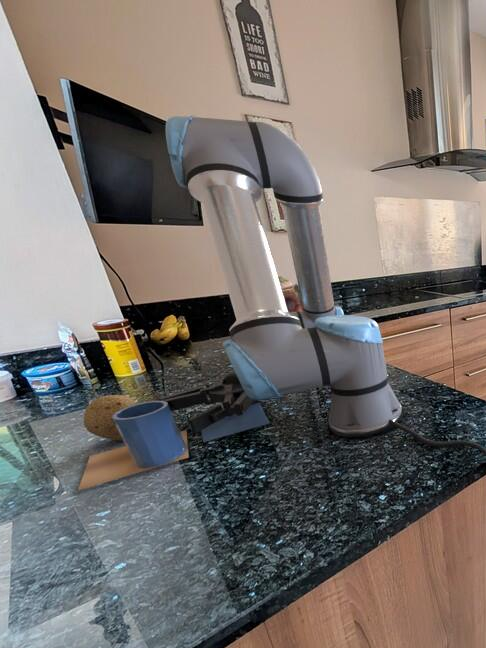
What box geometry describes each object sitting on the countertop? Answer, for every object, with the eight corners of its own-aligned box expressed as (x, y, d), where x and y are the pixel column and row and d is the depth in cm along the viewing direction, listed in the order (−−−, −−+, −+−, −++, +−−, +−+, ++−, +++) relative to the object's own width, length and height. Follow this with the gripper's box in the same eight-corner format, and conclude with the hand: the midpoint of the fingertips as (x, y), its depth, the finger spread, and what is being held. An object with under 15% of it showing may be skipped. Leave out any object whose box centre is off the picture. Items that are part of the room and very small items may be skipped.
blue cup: (187, 457, 74) (167, 410, 71) (134, 472, 70) (110, 423, 66) (186, 441, 80) (167, 397, 76) (136, 455, 76) (114, 409, 72)
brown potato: (81, 452, 78) (57, 407, 74) (119, 430, 86) (98, 388, 82) (129, 449, 79) (107, 404, 75) (162, 427, 87) (144, 386, 83)
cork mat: (189, 458, 75) (188, 457, 74) (78, 492, 66) (77, 490, 66) (187, 431, 85) (186, 429, 85) (90, 457, 76) (89, 455, 76)
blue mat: (270, 424, 86) (269, 423, 86) (203, 443, 80) (203, 442, 79) (259, 404, 97) (259, 402, 96) (200, 419, 90) (199, 418, 90)
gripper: (299, 398, 93) (224, 445, 74) (210, 393, 98) (118, 437, 79) (291, 369, 91) (211, 410, 71) (200, 365, 95) (102, 403, 76)
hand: (162, 424), depth 75 cm, fingers open, 13 cm apart
